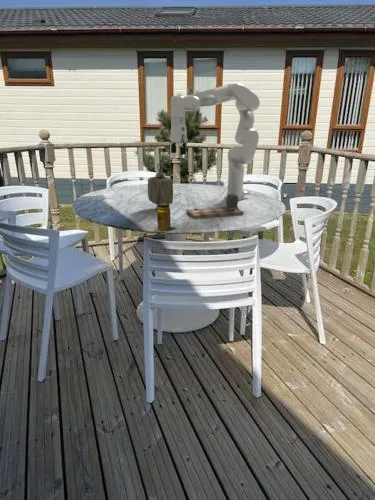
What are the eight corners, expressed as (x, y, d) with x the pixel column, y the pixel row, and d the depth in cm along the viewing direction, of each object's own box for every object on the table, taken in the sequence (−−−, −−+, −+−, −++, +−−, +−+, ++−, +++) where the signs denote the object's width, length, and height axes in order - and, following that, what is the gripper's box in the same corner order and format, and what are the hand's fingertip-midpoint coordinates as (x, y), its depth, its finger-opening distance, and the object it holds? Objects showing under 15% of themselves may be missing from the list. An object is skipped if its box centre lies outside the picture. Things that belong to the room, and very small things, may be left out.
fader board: (233, 208, 201) (233, 204, 200) (243, 214, 190) (243, 210, 190) (186, 212, 193) (186, 208, 192) (193, 218, 182) (193, 214, 181)
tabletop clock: (173, 211, 194) (173, 165, 185) (157, 213, 190) (156, 166, 181) (162, 205, 206) (161, 161, 197) (147, 207, 202) (146, 162, 193)
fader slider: (233, 206, 197) (234, 193, 195) (238, 209, 192) (239, 196, 189) (225, 207, 196) (225, 194, 193) (229, 210, 190) (230, 196, 188)
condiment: (153, 229, 165) (152, 204, 161) (166, 225, 171) (165, 200, 167) (165, 232, 161) (164, 206, 157) (177, 228, 167) (177, 203, 163)
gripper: (192, 121, 187) (192, 154, 193) (175, 120, 200) (175, 151, 207) (180, 121, 183) (181, 155, 190) (164, 120, 197) (164, 152, 203)
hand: (178, 153), depth 198 cm, fingers open, 9 cm apart
